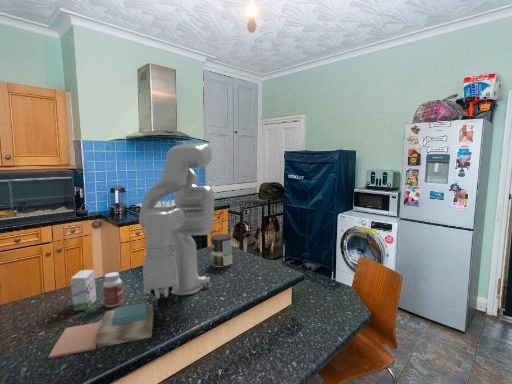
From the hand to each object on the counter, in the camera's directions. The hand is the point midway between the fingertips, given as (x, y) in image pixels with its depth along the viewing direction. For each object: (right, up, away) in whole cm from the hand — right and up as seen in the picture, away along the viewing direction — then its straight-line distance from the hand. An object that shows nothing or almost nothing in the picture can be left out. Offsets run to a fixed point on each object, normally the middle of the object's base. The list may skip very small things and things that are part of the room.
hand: (162, 308), depth 90 cm
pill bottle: (-23, -5, +15) cm, 27 cm away
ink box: (-33, -5, +15) cm, 37 cm away
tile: (-9, -2, -3) cm, 9 cm away
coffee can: (+12, 0, +53) cm, 54 cm away
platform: (-10, -6, -3) cm, 12 cm away
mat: (-22, -6, -6) cm, 24 cm away
